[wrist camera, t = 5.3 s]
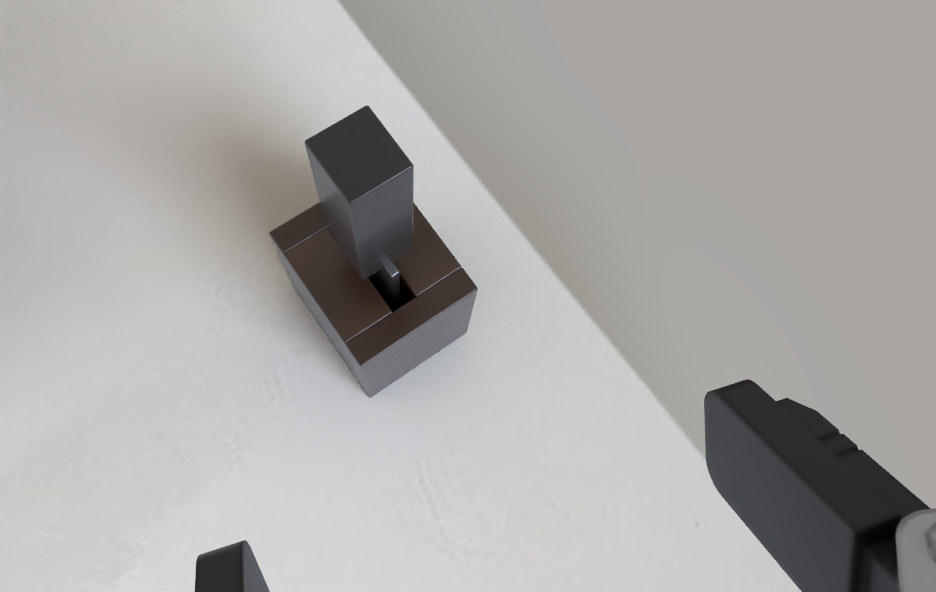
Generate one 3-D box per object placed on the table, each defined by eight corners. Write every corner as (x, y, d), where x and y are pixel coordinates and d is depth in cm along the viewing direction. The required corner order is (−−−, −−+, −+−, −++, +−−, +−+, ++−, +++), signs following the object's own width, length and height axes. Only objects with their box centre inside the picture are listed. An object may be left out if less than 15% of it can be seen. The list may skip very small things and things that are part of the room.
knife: (418, 323, 34) (423, 177, 20) (379, 349, 33) (358, 216, 20) (379, 269, 34) (359, 92, 21) (340, 293, 34) (294, 129, 20)
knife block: (467, 332, 34) (478, 288, 28) (369, 398, 32) (360, 366, 27) (388, 225, 35) (384, 162, 29) (292, 285, 34) (268, 232, 28)
